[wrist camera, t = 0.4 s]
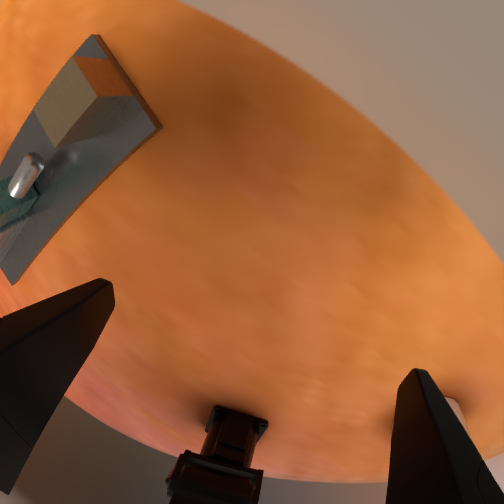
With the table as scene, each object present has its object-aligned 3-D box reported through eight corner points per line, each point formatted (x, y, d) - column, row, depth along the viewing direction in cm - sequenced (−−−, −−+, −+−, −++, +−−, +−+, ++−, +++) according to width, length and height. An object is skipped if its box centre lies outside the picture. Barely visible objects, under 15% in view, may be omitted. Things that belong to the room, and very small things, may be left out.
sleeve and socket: (17, 282, 32) (-9, 302, 27) (-21, 220, 29) (-48, 236, 25) (162, 127, 21) (123, 135, 16) (99, 35, 18) (55, 28, 13)
